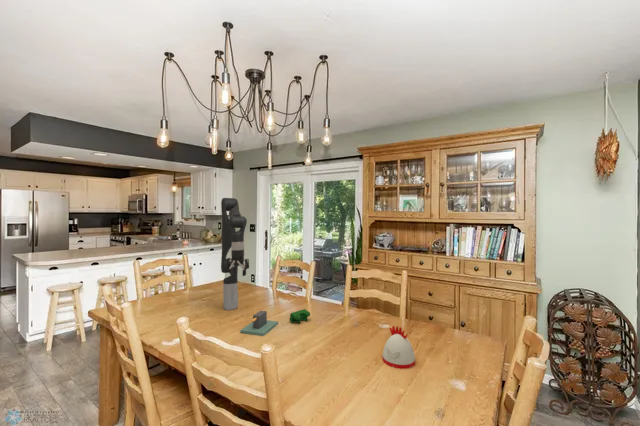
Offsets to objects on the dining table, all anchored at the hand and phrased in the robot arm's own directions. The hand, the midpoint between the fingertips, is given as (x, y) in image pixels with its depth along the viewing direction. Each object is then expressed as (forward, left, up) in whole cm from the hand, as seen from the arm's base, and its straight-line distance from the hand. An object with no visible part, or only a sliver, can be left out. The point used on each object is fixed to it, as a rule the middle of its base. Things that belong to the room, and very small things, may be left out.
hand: (237, 275), depth 189 cm
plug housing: (+13, +21, -25) cm, 35 cm away
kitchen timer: (+26, +97, -26) cm, 104 cm away
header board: (+11, +21, -26) cm, 35 cm away
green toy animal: (-6, +39, -26) cm, 47 cm away
